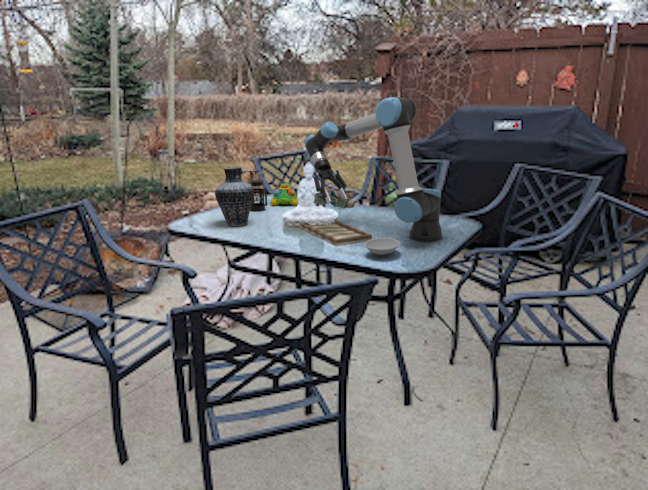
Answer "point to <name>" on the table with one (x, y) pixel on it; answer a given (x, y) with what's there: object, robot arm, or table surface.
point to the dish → (382, 245)
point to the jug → (235, 196)
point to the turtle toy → (284, 195)
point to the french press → (259, 206)
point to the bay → (337, 233)
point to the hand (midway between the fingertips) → (337, 201)
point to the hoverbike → (333, 201)
